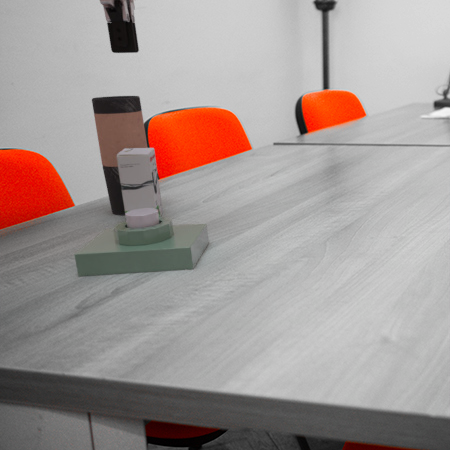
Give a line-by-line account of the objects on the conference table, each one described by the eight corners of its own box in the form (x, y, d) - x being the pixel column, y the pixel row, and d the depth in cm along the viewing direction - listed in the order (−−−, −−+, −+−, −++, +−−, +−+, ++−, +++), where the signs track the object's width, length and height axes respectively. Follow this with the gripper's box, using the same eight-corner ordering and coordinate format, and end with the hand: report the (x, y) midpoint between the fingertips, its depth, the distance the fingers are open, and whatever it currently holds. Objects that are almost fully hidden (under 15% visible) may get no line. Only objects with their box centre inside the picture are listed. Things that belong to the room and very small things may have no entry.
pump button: (123, 231, 74) (120, 216, 74) (132, 223, 78) (130, 208, 78) (155, 229, 75) (153, 214, 74) (163, 221, 79) (161, 207, 78)
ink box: (159, 225, 94) (148, 153, 90) (126, 228, 92) (114, 155, 89) (164, 212, 102) (154, 145, 98) (134, 214, 100) (123, 147, 97)
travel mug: (164, 205, 107) (149, 95, 101) (141, 216, 99) (123, 98, 94) (126, 204, 108) (109, 96, 102) (101, 215, 100) (80, 99, 95)
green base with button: (78, 276, 72) (70, 239, 70) (108, 248, 82) (103, 215, 81) (193, 269, 74) (188, 232, 72) (209, 242, 84) (205, 210, 83)
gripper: (95, -80, 82) (115, 53, 87) (47, -109, 68) (75, 52, 73) (149, -80, 83) (166, 52, 88) (114, -108, 69) (137, 51, 74)
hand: (125, 52), depth 80 cm, fingers closed
